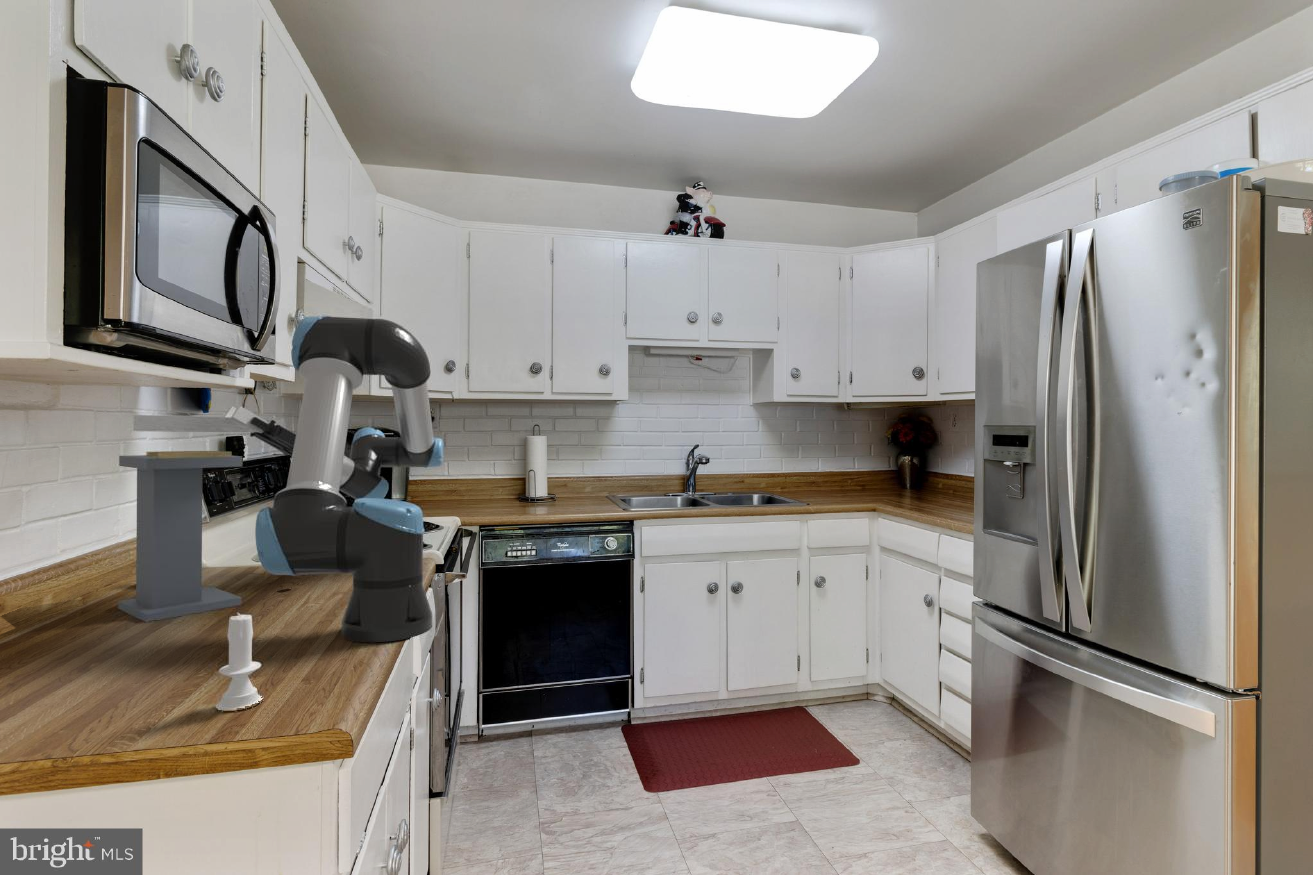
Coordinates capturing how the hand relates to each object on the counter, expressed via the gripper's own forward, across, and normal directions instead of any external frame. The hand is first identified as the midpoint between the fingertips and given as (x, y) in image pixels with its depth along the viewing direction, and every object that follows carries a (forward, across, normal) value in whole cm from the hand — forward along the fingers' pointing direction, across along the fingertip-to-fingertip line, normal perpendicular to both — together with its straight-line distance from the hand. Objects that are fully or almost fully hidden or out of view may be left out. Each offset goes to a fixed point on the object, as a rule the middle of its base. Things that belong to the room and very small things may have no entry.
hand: (231, 411), depth 139 cm
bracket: (+3, -3, -12) cm, 13 cm away
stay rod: (+1, 0, -5) cm, 5 cm away
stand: (-12, +2, -38) cm, 40 cm away
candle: (-1, -58, -45) cm, 73 cm away
